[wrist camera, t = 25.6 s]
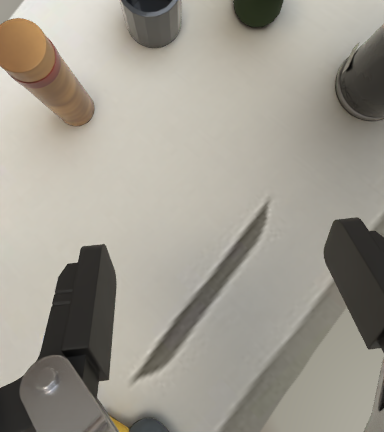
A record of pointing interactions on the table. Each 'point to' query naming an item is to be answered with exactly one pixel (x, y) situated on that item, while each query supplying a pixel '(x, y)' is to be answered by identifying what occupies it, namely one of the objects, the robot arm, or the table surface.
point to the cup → (152, 21)
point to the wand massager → (142, 426)
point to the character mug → (257, 11)
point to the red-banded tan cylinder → (43, 71)
